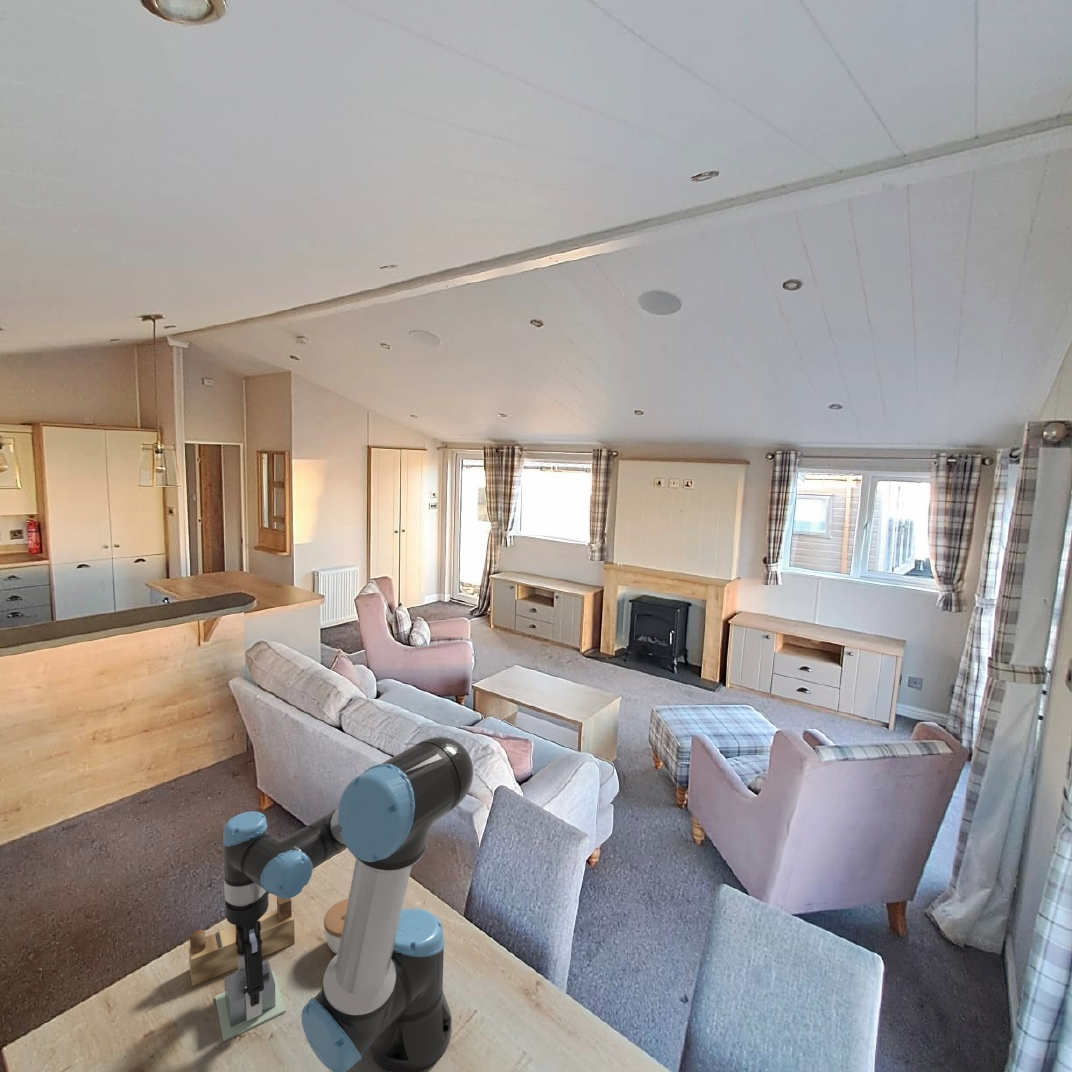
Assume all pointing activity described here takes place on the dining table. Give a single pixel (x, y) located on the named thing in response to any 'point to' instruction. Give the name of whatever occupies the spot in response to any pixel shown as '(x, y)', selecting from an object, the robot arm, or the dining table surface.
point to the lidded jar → (335, 924)
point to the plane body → (221, 950)
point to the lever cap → (238, 999)
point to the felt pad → (246, 1025)
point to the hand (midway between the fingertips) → (250, 999)
